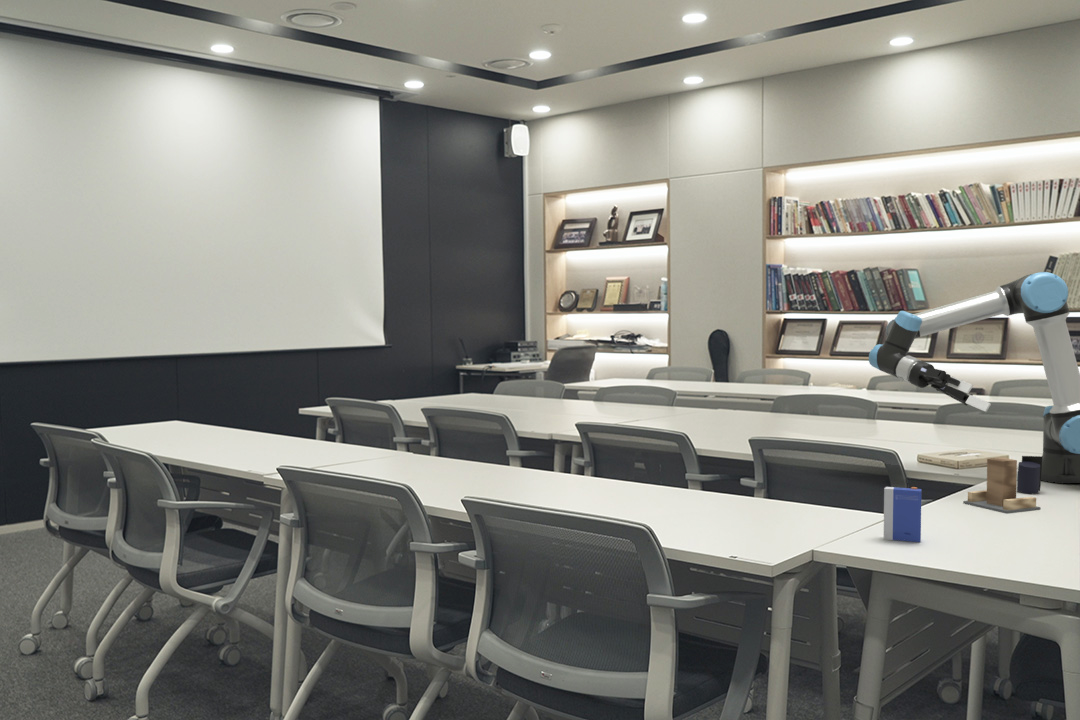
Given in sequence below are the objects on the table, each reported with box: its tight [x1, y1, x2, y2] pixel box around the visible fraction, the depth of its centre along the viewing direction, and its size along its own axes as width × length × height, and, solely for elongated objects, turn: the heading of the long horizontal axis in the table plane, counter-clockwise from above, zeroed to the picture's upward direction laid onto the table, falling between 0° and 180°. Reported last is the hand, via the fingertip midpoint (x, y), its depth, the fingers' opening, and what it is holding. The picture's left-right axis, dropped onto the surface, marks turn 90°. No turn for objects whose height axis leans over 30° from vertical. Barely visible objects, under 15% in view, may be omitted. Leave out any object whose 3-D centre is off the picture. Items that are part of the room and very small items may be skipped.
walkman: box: [883, 486, 922, 543], centre depth 210 cm, size 8×3×12 cm, turn 65°
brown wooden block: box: [986, 457, 1018, 507], centre depth 246 cm, size 5×5×12 cm
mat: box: [962, 500, 1041, 514], centre depth 246 cm, size 12×14×1 cm
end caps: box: [967, 489, 1037, 510], centre depth 246 cm, size 10×13×2 cm
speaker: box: [1016, 455, 1042, 495], centre depth 265 cm, size 8×6×10 cm
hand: (979, 398), depth 259 cm, fingers open, 13 cm apart
